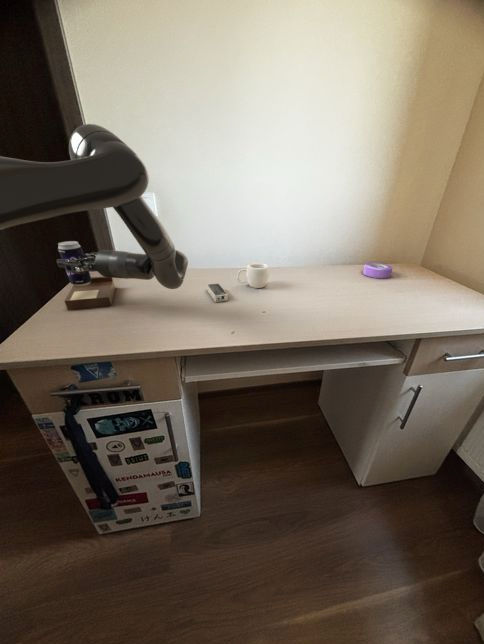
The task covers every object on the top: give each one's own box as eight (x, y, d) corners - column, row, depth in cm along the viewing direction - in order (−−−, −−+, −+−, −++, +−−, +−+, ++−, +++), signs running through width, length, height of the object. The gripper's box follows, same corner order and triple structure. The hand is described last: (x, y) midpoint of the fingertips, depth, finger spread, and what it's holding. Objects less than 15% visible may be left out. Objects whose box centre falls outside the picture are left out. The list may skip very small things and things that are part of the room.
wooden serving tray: (67, 310, 85) (62, 296, 83) (77, 291, 98) (73, 278, 95) (111, 305, 89) (107, 292, 86) (115, 288, 101) (111, 275, 99)
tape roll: (358, 270, 129) (360, 262, 127) (381, 270, 131) (383, 261, 129) (370, 279, 120) (373, 270, 118) (395, 278, 122) (398, 269, 119)
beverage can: (70, 283, 86) (55, 242, 80) (90, 279, 89) (77, 239, 83) (72, 288, 83) (57, 246, 76) (94, 284, 86) (81, 243, 79)
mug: (267, 282, 112) (268, 262, 108) (269, 289, 105) (270, 269, 101) (237, 281, 111) (236, 261, 107) (237, 289, 104) (236, 268, 100)
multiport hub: (219, 289, 104) (218, 283, 103) (228, 300, 96) (228, 294, 94) (207, 290, 102) (206, 284, 101) (215, 302, 94) (215, 295, 93)
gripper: (130, 245, 84) (79, 241, 86) (98, 258, 72) (40, 253, 74) (135, 270, 88) (87, 265, 90) (106, 286, 76) (51, 280, 79)
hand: (66, 260), depth 82 cm, fingers closed on beverage can, 5 cm apart
